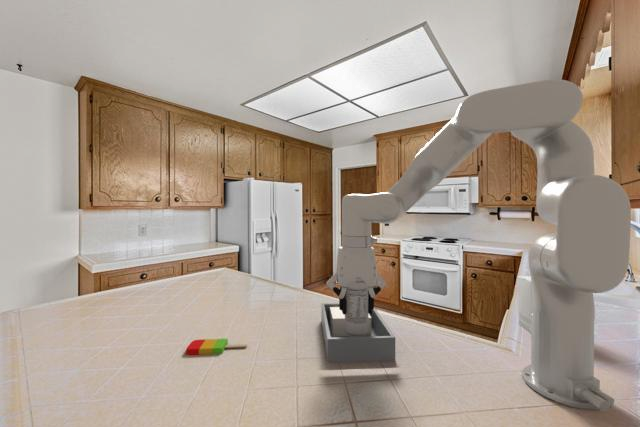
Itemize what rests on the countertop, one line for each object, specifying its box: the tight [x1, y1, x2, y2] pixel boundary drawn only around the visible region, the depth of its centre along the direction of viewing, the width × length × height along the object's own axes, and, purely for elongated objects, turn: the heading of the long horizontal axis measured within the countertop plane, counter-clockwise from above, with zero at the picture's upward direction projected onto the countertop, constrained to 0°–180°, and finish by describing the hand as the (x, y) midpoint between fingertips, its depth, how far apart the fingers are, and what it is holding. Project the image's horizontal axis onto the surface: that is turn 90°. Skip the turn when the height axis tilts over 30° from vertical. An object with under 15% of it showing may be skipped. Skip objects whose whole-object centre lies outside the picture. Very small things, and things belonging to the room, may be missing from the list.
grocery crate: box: [321, 302, 396, 364], centre depth 75 cm, size 24×16×6 cm, turn 3°
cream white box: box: [330, 307, 371, 336], centre depth 81 cm, size 9×11×5 cm
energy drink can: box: [345, 277, 369, 337], centre depth 70 cm, size 6×6×15 cm
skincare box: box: [516, 275, 532, 333], centre depth 82 cm, size 8×7×16 cm
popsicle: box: [185, 338, 248, 356], centre depth 71 cm, size 6×15×2 cm, turn 95°
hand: (356, 311), depth 70 cm, fingers closed on energy drink can, 6 cm apart
